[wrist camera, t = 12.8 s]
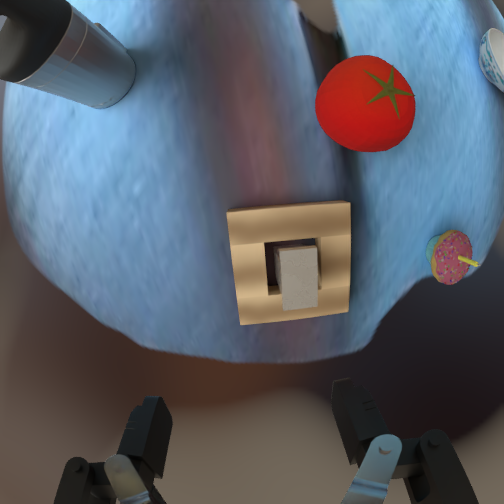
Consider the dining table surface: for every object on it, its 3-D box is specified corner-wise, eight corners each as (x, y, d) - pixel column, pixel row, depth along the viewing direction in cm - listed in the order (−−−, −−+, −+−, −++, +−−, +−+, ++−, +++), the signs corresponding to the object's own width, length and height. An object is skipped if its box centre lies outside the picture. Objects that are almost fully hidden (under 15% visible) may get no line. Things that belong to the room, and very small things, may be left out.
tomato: (360, 171, 33) (413, 173, 21) (291, 128, 31) (316, 105, 19) (391, 107, 30) (446, 88, 18) (326, 64, 29) (362, 23, 17)
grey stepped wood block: (272, 235, 35) (279, 251, 28) (302, 232, 35) (317, 247, 28) (275, 284, 37) (283, 310, 30) (304, 281, 37) (317, 306, 30)
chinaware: (455, 28, 24) (478, 17, 17) (495, 48, 24) (516, 42, 17) (477, 95, 29) (504, 90, 21) (512, 108, 28) (536, 107, 21)
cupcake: (408, 253, 37) (456, 282, 25) (437, 212, 35) (489, 229, 23) (433, 283, 38) (476, 314, 27) (459, 245, 37) (506, 267, 25)
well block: (228, 209, 34) (226, 212, 31) (341, 200, 34) (350, 202, 31) (240, 314, 38) (240, 325, 36) (341, 302, 38) (348, 311, 36)
